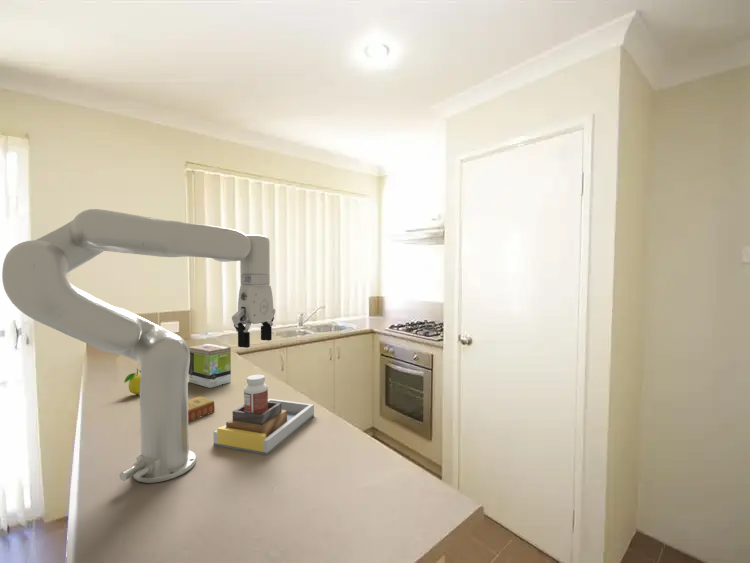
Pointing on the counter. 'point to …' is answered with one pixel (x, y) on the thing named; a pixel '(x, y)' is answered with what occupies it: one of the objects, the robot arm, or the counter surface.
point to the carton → (199, 407)
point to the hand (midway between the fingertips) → (255, 343)
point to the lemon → (134, 382)
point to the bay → (258, 441)
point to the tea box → (210, 365)
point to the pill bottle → (256, 395)
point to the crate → (259, 419)
